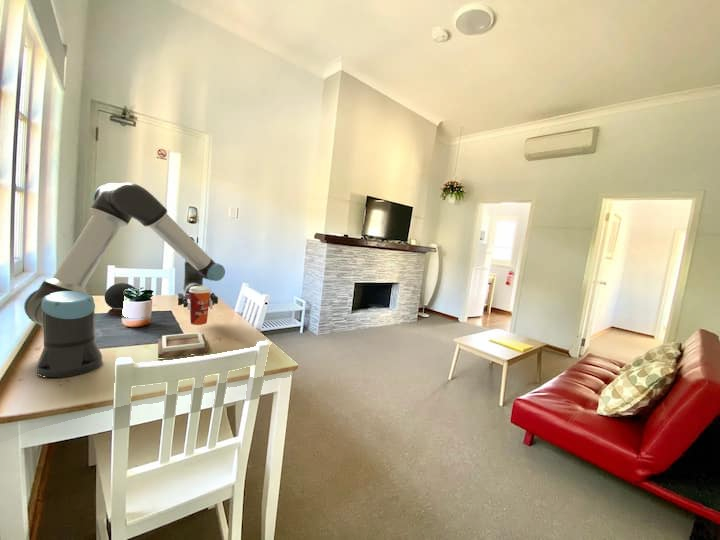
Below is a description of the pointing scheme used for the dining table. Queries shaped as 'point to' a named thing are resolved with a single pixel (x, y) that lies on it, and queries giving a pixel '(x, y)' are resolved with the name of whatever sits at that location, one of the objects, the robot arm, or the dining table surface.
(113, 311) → the round bulbous part
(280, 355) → the dining table surface
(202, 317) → the paper cup
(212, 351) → the dining table surface
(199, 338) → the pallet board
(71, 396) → the dining table surface
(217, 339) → the dining table surface
